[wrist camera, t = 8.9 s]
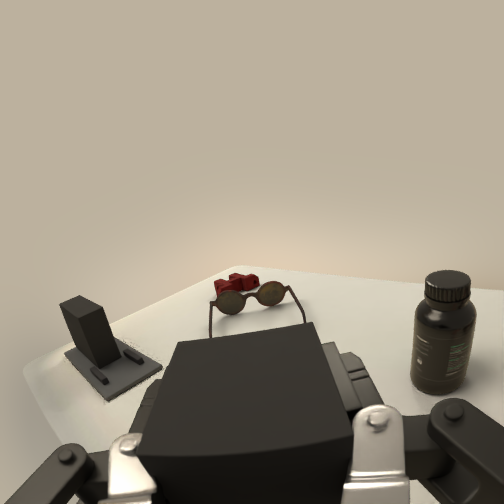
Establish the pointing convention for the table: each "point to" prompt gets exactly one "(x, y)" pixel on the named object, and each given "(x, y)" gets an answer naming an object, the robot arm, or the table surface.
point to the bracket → (237, 283)
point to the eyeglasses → (235, 301)
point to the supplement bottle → (443, 333)
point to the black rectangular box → (249, 422)
